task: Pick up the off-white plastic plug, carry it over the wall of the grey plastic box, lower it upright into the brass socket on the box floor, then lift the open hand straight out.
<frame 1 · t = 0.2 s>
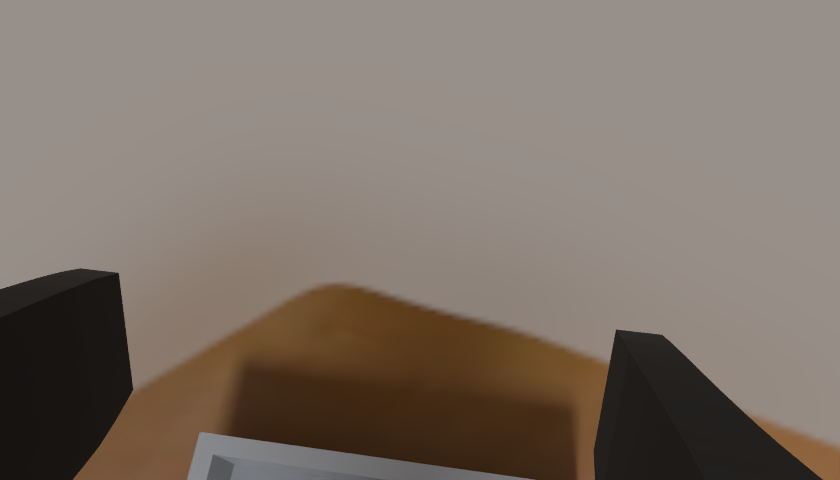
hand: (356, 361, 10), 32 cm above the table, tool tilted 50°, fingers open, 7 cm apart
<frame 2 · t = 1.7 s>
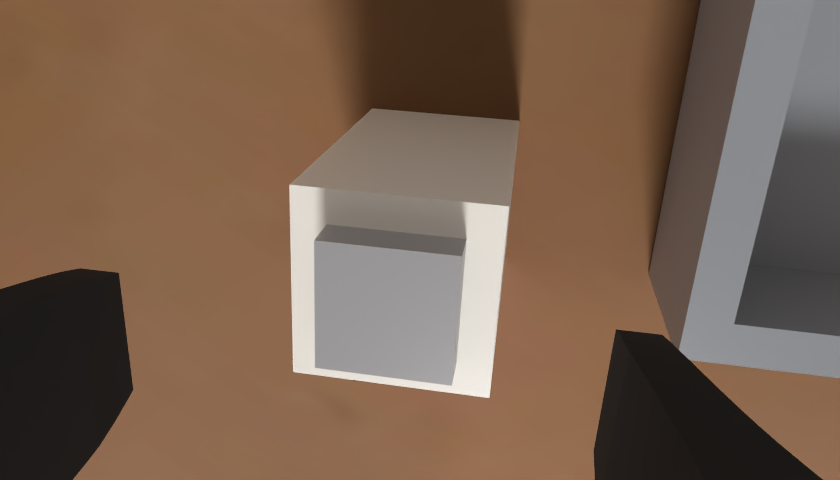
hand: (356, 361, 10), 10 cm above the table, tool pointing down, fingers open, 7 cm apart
plug: (440, 185, 20), on the table
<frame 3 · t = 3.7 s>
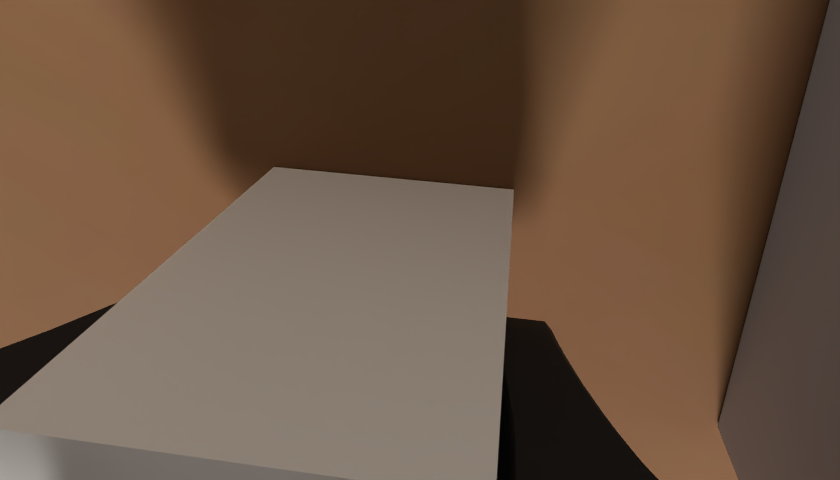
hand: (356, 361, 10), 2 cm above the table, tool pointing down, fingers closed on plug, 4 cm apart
plug: (387, 287, 12), on the table, touching gripper
when the fingers open (4 cm above the table, at t = 8.6 s): plug stays where it is, resting on box.
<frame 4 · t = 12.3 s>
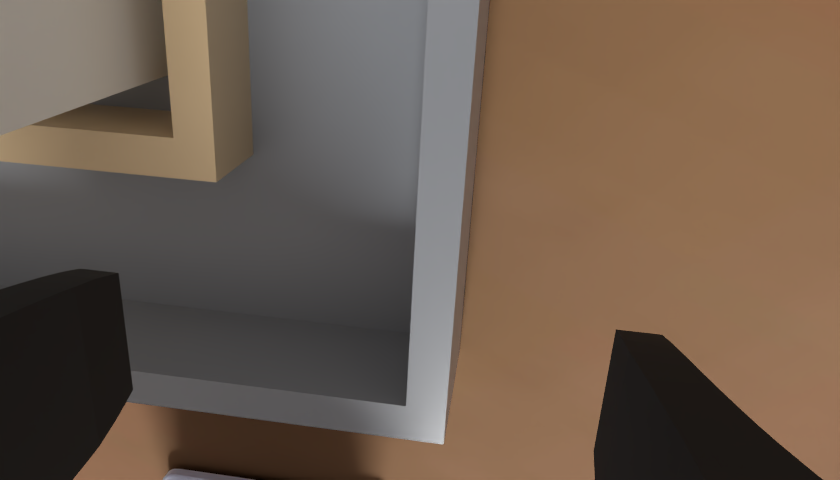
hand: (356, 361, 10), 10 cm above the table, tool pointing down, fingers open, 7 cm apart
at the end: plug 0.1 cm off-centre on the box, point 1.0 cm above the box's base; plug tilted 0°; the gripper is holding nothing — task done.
